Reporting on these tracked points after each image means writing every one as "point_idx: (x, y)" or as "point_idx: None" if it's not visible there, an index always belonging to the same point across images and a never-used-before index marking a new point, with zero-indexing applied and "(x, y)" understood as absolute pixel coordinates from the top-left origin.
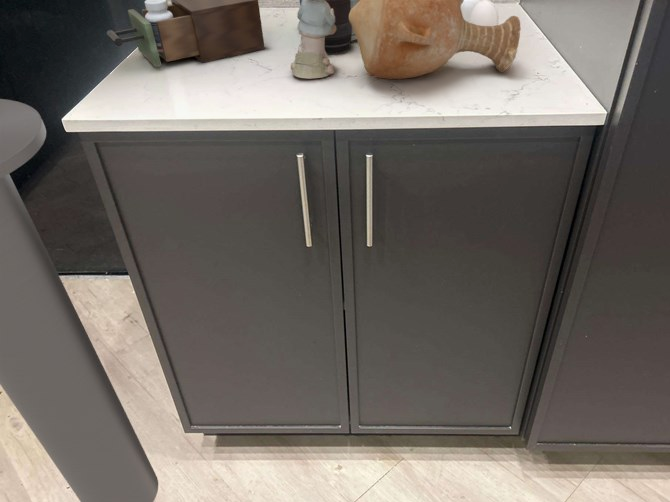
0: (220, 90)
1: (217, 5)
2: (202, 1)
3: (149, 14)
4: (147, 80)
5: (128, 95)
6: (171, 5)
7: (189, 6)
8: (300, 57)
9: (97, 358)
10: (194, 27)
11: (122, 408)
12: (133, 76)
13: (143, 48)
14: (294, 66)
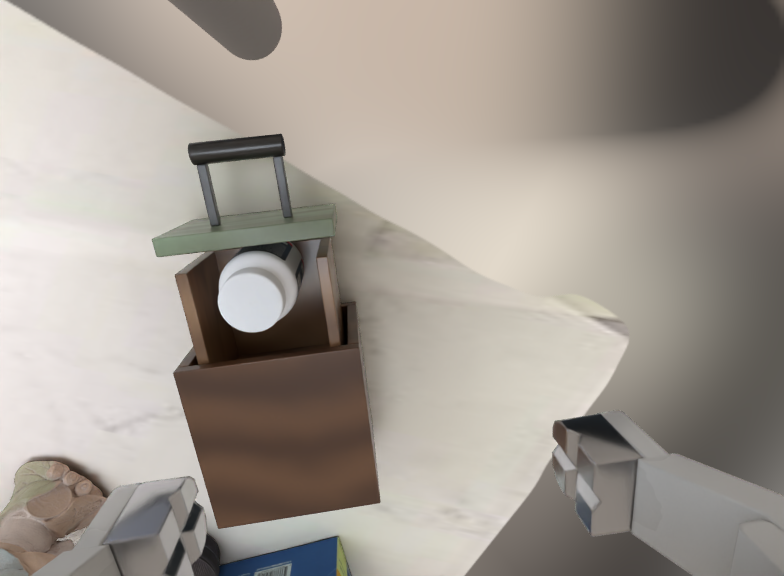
0: (23, 319)
1: (203, 439)
2: (262, 413)
3: (242, 268)
4: (146, 188)
5: (59, 130)
6: (329, 336)
7: (226, 376)
8: (15, 499)
9: (186, 3)
10: (190, 353)
11: (217, 30)
12: (188, 162)
13: (267, 214)
14: (42, 474)
